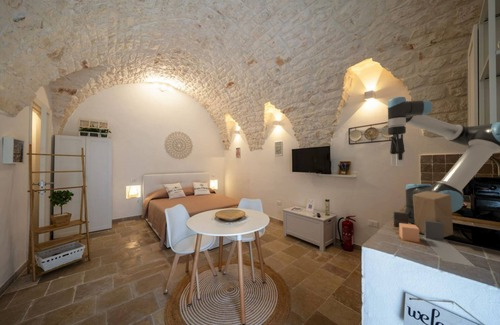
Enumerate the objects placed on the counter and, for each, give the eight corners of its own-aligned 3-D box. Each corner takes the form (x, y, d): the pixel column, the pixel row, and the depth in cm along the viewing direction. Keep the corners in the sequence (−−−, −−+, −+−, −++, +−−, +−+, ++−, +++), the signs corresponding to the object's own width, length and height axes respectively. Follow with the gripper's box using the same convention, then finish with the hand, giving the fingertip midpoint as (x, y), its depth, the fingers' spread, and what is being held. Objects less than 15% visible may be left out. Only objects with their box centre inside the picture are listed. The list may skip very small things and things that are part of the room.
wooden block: (453, 234, 89) (451, 194, 87) (437, 240, 87) (435, 199, 85) (429, 226, 99) (427, 190, 97) (414, 231, 97) (412, 194, 95)
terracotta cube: (399, 235, 91) (399, 223, 91) (415, 237, 88) (415, 224, 88) (402, 239, 86) (402, 227, 86) (419, 242, 83) (419, 229, 83)
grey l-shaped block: (421, 238, 89) (421, 219, 89) (444, 241, 85) (444, 222, 85) (443, 263, 68) (443, 239, 68) (475, 269, 64) (475, 243, 64)
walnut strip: (391, 227, 104) (391, 211, 104) (409, 229, 100) (409, 213, 100) (401, 245, 83) (401, 225, 83) (425, 248, 79) (425, 228, 79)
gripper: (384, 130, 113) (384, 165, 113) (392, 123, 91) (393, 166, 91) (399, 129, 109) (399, 165, 110) (412, 122, 87) (412, 166, 88)
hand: (396, 165), depth 100 cm, fingers open, 13 cm apart
